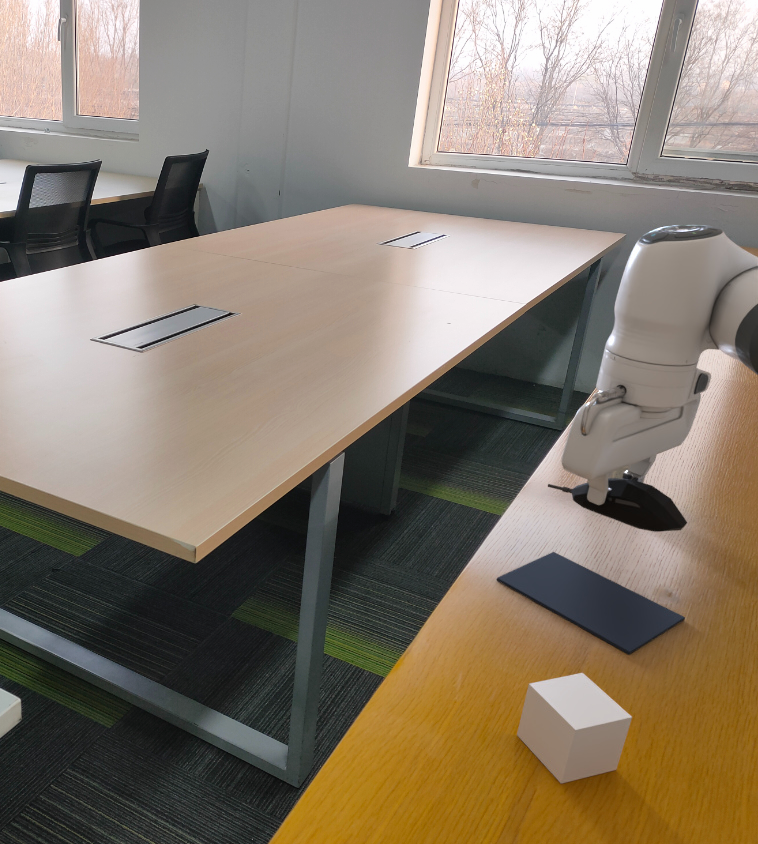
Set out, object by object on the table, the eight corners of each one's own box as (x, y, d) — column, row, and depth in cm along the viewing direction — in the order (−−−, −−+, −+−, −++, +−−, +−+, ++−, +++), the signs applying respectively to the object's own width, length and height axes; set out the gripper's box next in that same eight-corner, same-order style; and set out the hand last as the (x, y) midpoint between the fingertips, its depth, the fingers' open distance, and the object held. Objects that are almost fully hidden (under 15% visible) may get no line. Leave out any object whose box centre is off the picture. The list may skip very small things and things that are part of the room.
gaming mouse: (558, 479, 99) (565, 449, 97) (691, 524, 89) (701, 491, 87) (536, 494, 94) (543, 463, 93) (673, 543, 85) (683, 509, 83)
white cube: (516, 735, 75) (528, 683, 73) (569, 723, 77) (582, 672, 75) (561, 784, 70) (575, 729, 68) (616, 770, 71) (632, 716, 69)
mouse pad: (684, 620, 93) (685, 617, 93) (629, 654, 87) (630, 651, 87) (552, 554, 106) (553, 551, 106) (496, 580, 100) (496, 577, 100)
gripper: (619, 405, 78) (589, 529, 83) (719, 373, 89) (687, 485, 94) (561, 386, 83) (535, 504, 88) (662, 358, 94) (634, 465, 99)
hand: (614, 494), depth 91 cm, fingers closed on gaming mouse, 5 cm apart
